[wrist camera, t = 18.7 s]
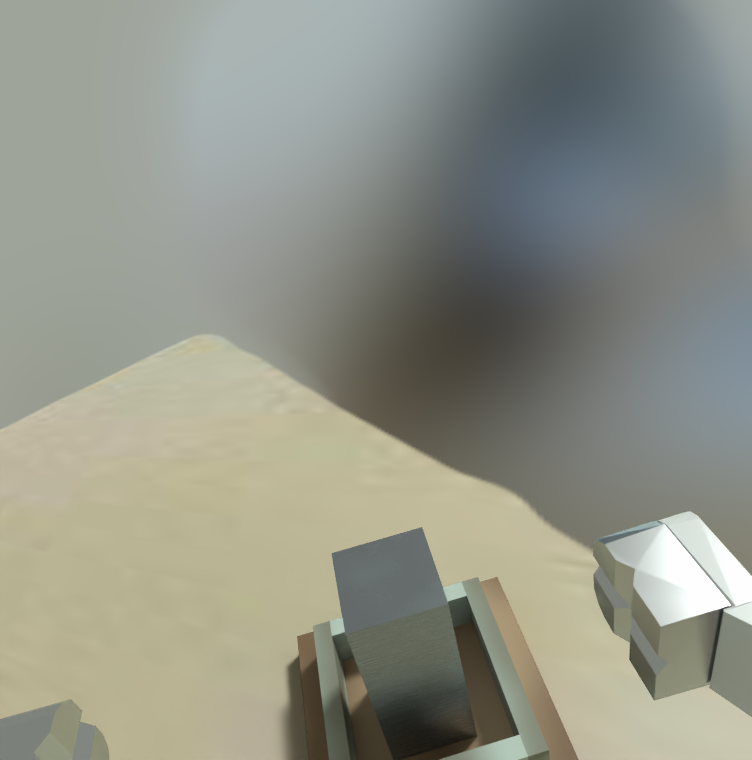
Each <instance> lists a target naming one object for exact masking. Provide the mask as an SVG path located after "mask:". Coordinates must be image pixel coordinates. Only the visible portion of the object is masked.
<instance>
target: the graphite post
mask: <svg viewBox="0 0 752 760" xmlns="http://www.w3.org/2000/svg"><path fill="white" fill-rule="evenodd" d="M332 558H333V564H334V570H335V576H336V582H337V588H338V594H339V600H340V606H341V612H342V618H343V623H344V629H345V635H346V637H347V640H348V643H349V645H350V648H351V650H352V653H353V656H354V658H355V661H356V664H357V666H358V669H359V671H360V674H361V677H362V679H363V682H364V684H365V687H366V690H367V692H368V695H369V697H370V700H371V703H372V705H373V708H374V710H375V713H376V716H377V718H378V721H379V723H380V726H381V729H382V731H383V734H384V736H385V739H386V742H387V744H388V747H389V750H390V752H391V755H392V757H393V760H402V759H405V758H409V757H412V756H415V755H418V754H421V753H425V752H428V751H431V750H434V749H438V748H441V747H444V746H447V745H451V744H454V743H457V742H460V741H464V740H467V739H470V738H473V737H477V733H476V728H475V723H474V719H473V714H472V710H471V705H470V701H469V696H468V691H467V687H466V682H465V678H464V673H463V669H462V664H461V659H460V655H459V650H458V646H457V641H456V637H455V632H454V627H453V623H452V618H451V614H450V609H449V605H448V601H447V598H446V596H445V593H444V590H443V587H442V584H441V581H440V578H439V575H438V572H437V569H436V567H435V564H434V561H433V558H432V555H431V552H430V549H429V546H428V543H427V540H426V538H425V535H424V532H423V529H422V527H421V528H418V529H414V530H411V531H407V532H404V533H400V534H397V535H393V536H390V537H387V538H383V539H380V540H376V541H373V542H369V543H366V544H363V545H359V546H356V547H352V548H349V549H345V550H342V551H338V552H335V553H332Z"/></svg>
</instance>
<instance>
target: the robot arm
mask: <svg viewBox="0 0 752 760" xmlns="http://www.w3.org/2000/svg"><path fill="white" fill-rule="evenodd" d="M593 556H594V557H595V559H596V560H597V562H598V564H599V565H600V566H599V568H598V569H597V570H596V572H595V573H594V589H595V592H596V596H597V599H598V603H599V606H600V608H601V610H602V612H603V615H604V617H605V619H606V621H607V622H608V624H609V626H610V628H611V629H612V631H613V633H614V634H616V635H618V636H619V637H621V638H623V639H625V640H626V641H628V642H630V658H629V660H630V661H631V663H632V665H633V666H634V668H635V670H636V671H637V673H638V674H639V676H640V678H641V679H642V681H643V683H644V684H645V686H646V688H647V689H648V691H649V693H650V694H651V696H652V698H653V699H654V700H657V699H661V698H664V697H668V696H671V695H675V694H678V693H682V692H685V691H689V690H692V689H696V688H699V687H702V686H706V685H709V684H710V689H712V690H713V691H715V692H716V693H718V694H719V695H721V696H722V697H724V698H725V699H726V700H728V701H729V702H731V703H732V704H734V705H735V706H737V707H738V708H740V709H741V710H742V711H744V712H745V713H747V714H748V715H750V716H751V717H752V576H751V575H750V574H749V572H748V571H747V570H746V569H745V568H744V567H743V566H742V565H741V563H740V562H739V561H738V560H737V559H736V558H735V557H734V556H733V555H732V554H731V553H730V551H729V550H728V549H727V548H726V547H725V546H724V545H723V544H722V542H721V541H720V540H719V539H718V538H717V537H716V536H715V535H714V534H713V533H712V531H711V530H710V529H709V528H708V527H707V526H706V525H705V524H704V523H703V521H702V520H701V519H700V518H699V517H698V516H697V515H695V514H693V513H691V512H684V513H680V514H677V515H674V516H671V517H668V518H665V519H662V520H659V521H652V522H649V523H646V524H643V525H640V526H636V527H633V528H630V529H627V530H624V531H621V532H618V533H614V534H611V535H608V536H605V537H602V538H599V539H596V541H595V543H594V546H593ZM81 713H82V710H81V709H80V708H79V707H78V706H77V705H76V704H75V703H74V702H73V701H72V700H71V699H70V700H66V701H63V702H59V703H56V704H52V705H49V706H45V707H42V708H38V709H34V710H31V711H27V712H24V713H20V714H17V715H13V716H10V717H6V718H3V719H0V760H109V750H108V746H107V744H106V741H105V739H104V736H103V734H102V733H101V732H100V731H99V729H98V728H97V727H96V726H93V725H90V724H86V723H83V722H80V718H81Z"/></svg>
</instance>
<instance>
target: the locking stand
mask: <svg viewBox="0 0 752 760" xmlns="http://www.w3.org/2000/svg"><path fill="white" fill-rule="evenodd" d="M443 590H444V593H445V596H446V598H447V601H448V605H449V609H450V614H451V618H452V623H453V627H454V632H455V637H456V641H457V646H458V650H459V655H460V659H461V664H462V669H463V673H464V678H465V682H466V687H467V691H468V696H469V701H470V705H471V710H472V714H473V719H474V723H475V728H476V733H477V737H473V738H470V739H467V740H464V741H460V742H457V743H454V744H451V745H447V746H444V747H441V748H438V749H434V750H431V751H428V752H425V753H421V754H418V755H415V756H412V757H409V758H405V759H402V760H578V758H577V755H576V753H575V751H574V749H573V746H572V744H571V742H570V740H569V737H568V735H567V733H566V731H565V728H564V726H563V724H562V722H561V719H560V717H559V715H558V713H557V710H556V708H555V706H554V704H553V701H552V699H551V697H550V695H549V692H548V690H547V688H546V686H545V683H544V681H543V679H542V677H541V674H540V672H539V670H538V668H537V665H536V663H535V661H534V659H533V656H532V654H531V652H530V650H529V648H528V645H527V643H526V641H525V639H524V636H523V634H522V632H521V630H520V627H519V625H518V623H517V621H516V618H515V616H514V614H513V612H512V609H511V607H510V605H509V603H508V600H507V598H506V596H505V594H504V591H503V589H502V587H501V585H500V582H499V580H498V578H497V577H495V578H492V579H489V580H485V581H482V582H480V581H479V579H478V577H477V578H473V579H470V580H466V581H463V582H460V583H456V584H453V585H450V586H446V587H443ZM313 631H314V632H310V633H307V634H304V635H300V636H297V639H298V650H299V660H300V671H301V681H302V692H303V702H304V713H305V723H306V734H307V744H308V755H309V760H393V757H392V755H391V752H390V750H389V747H388V744H387V742H386V739H385V736H384V734H383V731H382V729H381V726H380V723H379V721H378V718H377V716H376V713H375V710H374V708H373V705H372V703H371V700H370V697H369V695H368V692H367V690H366V687H365V684H364V682H363V679H362V677H361V674H360V671H359V669H358V666H357V664H356V661H355V658H354V656H353V653H352V650H351V648H350V645H349V643H348V640H347V637H346V635H345V629H344V623H343V618H338V619H335V620H332V621H328V622H325V623H322V624H318V625H315V626H313Z"/></svg>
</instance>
